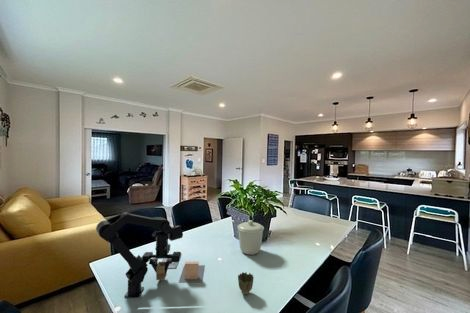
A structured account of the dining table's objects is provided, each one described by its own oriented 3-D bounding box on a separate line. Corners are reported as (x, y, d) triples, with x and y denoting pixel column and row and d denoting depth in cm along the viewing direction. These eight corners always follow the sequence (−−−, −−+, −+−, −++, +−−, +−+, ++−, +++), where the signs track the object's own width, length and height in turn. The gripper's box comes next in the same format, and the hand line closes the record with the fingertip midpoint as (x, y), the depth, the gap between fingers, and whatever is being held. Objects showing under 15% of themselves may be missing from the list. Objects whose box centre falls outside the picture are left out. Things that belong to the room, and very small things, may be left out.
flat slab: (198, 278, 108) (198, 263, 108) (184, 279, 107) (184, 263, 107) (198, 276, 110) (198, 261, 110) (185, 276, 109) (185, 261, 109)
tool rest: (176, 269, 117) (176, 267, 117) (157, 269, 116) (157, 268, 116) (179, 260, 127) (179, 258, 127) (162, 260, 126) (162, 258, 126)
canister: (267, 257, 133) (267, 224, 133) (239, 258, 130) (240, 225, 130) (259, 244, 151) (259, 215, 151) (234, 246, 148) (235, 216, 148)
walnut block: (164, 279, 104) (164, 266, 104) (156, 280, 104) (156, 266, 103) (166, 275, 108) (166, 261, 108) (158, 275, 108) (158, 261, 107)
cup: (235, 296, 96) (235, 279, 96) (240, 286, 103) (240, 270, 103) (250, 300, 94) (251, 282, 93) (255, 290, 100) (255, 274, 100)
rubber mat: (202, 283, 105) (202, 282, 105) (178, 283, 104) (178, 282, 104) (204, 266, 121) (204, 265, 121) (184, 266, 120) (184, 265, 120)
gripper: (183, 236, 114) (183, 264, 114) (148, 236, 113) (148, 265, 113) (179, 245, 103) (178, 276, 103) (140, 246, 102) (140, 277, 102)
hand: (161, 273), depth 106 cm, fingers closed on walnut block, 4 cm apart
